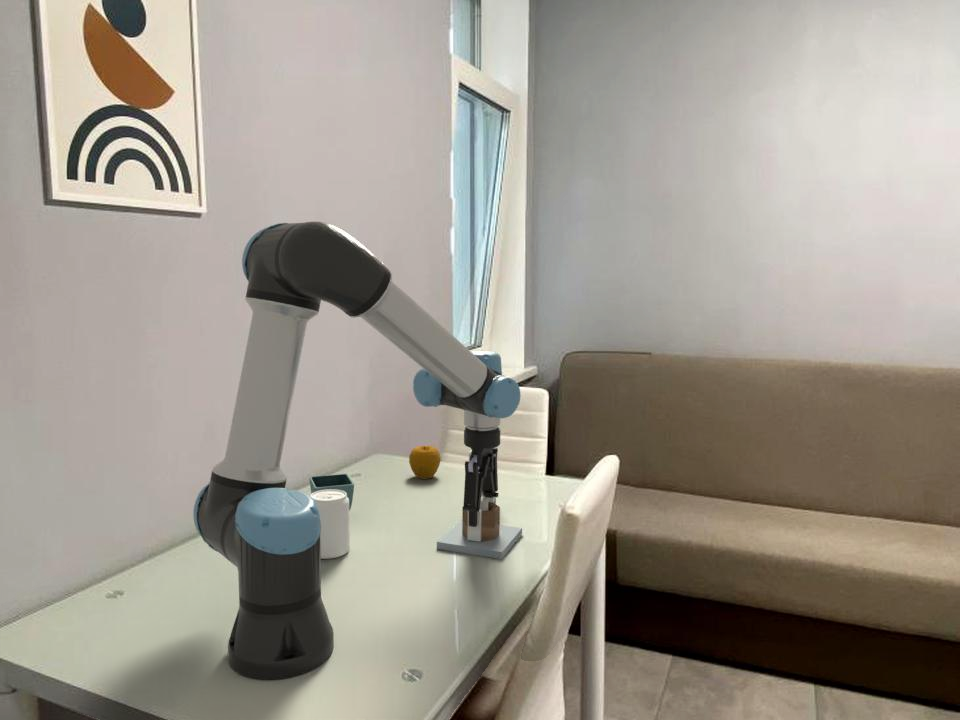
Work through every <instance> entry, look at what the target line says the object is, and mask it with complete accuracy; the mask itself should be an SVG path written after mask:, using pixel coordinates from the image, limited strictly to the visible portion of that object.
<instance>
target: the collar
mask: <svg viewBox="0 0 960 720" xmlns="http://www.w3.org/2000/svg"><path fill="white" fill-rule="evenodd" d="M500 510H501V507H500V506H499V505H498V504H497V503H496V504H495V503H492V502H488V510H487V511H481V541H480V542H483V541H489V540H495V539H496V538H497V537H498V535H499V527H500V525H501V524H500V520H501V519H500V517H501V516H500V514H501V513H500V512H501V511H500ZM461 514H462V519H461V520H462V535H463V536H464V537H466V538H467V535H468V510H464V509H463V508H462V513H461Z"/></svg>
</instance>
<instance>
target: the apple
mask: <svg viewBox="0 0 960 720" xmlns="http://www.w3.org/2000/svg"><path fill="white" fill-rule="evenodd" d="M440 455H441V454H440V451H439V450H438V448H436V446H433V445H419V446H416V447H414V448H412V450H411V451H410V453H409V457H408V463H409V466H410V469H411V471H412V473H413V474H414V476H416V478H418V479H420V478H421V480H428V478H429V479H432V478H433V477H434V476H435V475H436V473H437V472H438V469H439V466H440V464H441V456H440ZM431 477H432V478H431Z"/></svg>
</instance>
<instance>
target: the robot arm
mask: <svg viewBox="0 0 960 720" xmlns="http://www.w3.org/2000/svg"><path fill="white" fill-rule="evenodd" d="M241 257H242V258H241V259H242V260H241V266H242V267H241V268H242V271H243V274H244V277H245V278H246V280H247V288H246V292H245V293H246V294H245V301H246V303H247V304H248V306H249V307H250V309H251V310H252V315H251V316H252V317H251V320H250V327H249V331H248V335H247V336H248V337H247V341H246V346H245V350H244V351H245V352H244V355H243V356H244V357H243V362H242V367H241V372H240V377H239V383H238V388H237V394H236V399H235V405H234V408H233V414H232V418H231V419H232V420H231V425H230V431H229V434H228V441H227V445H226V451H225V456H224V457H223V460H221V461H220V462H219V463H217V464H216V465H214V466H213V467H212V470H211V474H210V479H209V482H208V484H206V485H205V486H204V487H203V488H201V490H200V492H199V493H198V494H197V497H196V499H195V501H194V505H193V513H192V514H193V515H192V516H193V523H194V526H195V529H196V531H197V533H198V534H199V535H200V537H201V538H202V540H203V541H204V543H205V544H207V546H208V547H209V548H210V549H212V550H213V551H216V552H217V553H219V554H220V555H221V556H223V558H225V559H227V561H229V562H230V563H231V564H232V565H233V566H235V567H236V568H237V573H238V575H237V576H238V599H239V600H238V601H239V605H238V609H237V612H236V617H235V619H234V623H233V626H232V630H231V632H230V635H229V639H228V643H227V655H228V656H227V657H228V658H227V659H228V664H229V666H230V668H231V669H232V670H234V672H237V673H238V674H240V675H242V676H245V677H247V678H253V679H257V680H278V679H286V678H287V679H288V678H291V677H295V676H299V675H301V674H304V673H307V672H309V671H312V670H314V669H316V668H317V667H319V666H321V665H322V664H323V663H324V662H326V661H327V660H328V658H329V657H330V656H331V655H332V653H333V651H334V648H335V645H334V644H335V641H334V640H335V639H334V628H333V626H332V624H331V622H330V619H329V616H328V613H327V610H326V607H325V604H324V601H323V599H322V574H321V573H322V569H321V568H322V567H321V566H322V565H321V564H322V563H321V562H322V561H321V560H322V559H321V543H320V534H321V520H320V515H319V508H318V505H317V503H316V502H315V500H314V499H313V498H312V497H311V496H310V495H309V494H308V493H306V492H303V491H302V490H298V489H289V488H286V485H287V478H288V477H287V475H286V474H285V473H284V471H283V470H282V468H281V461H282V454H283V450H284V444H285V439H286V433H287V428H288V423H289V418H290V413H291V408H292V403H293V397H294V393H295V392H294V391H295V387H296V381H297V376H298V372H299V366H300V361H301V357H302V356H301V355H302V350H303V345H304V340H305V336H306V330H307V324H308V322H309V321H310V320H311V319H314V318H315V317H316V316H318V315H319V312H320V306H321V304H322V303H321V301H322V302H325V303H328V304H331V305H333V306H334V307H335V308H338V309H340V310H341V311H342V312H344V313H345V314H346V315H347V316H349V317H350V318H361V319H363V321H365V322H366V323H367V324H369V326H371V327H372V328H373V329H375V330H376V331H377V332H378V333H379V334H381V335H382V336H383V337H384V338H386V339H387V340H388V341H389V342H390V343H391V344H393V345H394V346H395V347H397V349H399V350H400V351H402V352H403V353H404V354H405V355H406V356H407V357H409V358H410V359H412V360H413V361H414V362H415V363H416V364H417V365H419V366H420V367H421V368H420V369H419V370H418V371H417V372H416V374H415V376H414V378H413V381H412V382H413V383H412V384H413V385H412V386H413V387H412V390H413V394H414V397H415V399H416V401H417V402H418V403H419V404H420V405H421V406H423V407H425V408H426V407H429V408H430V407H434V408H437V407H438V406H448V407H451V408H456V409H459V410H463V424H464V426H465V427H464V428H463V445H465V446H466V447H467V448H469V449H470V450H471V449H472V451H471V455H470V462H469V460H466V461H464V472H465V475H464V487H463V488H464V489H463V491H464V493H463V506H462V510H463V509H464V510H468V535H467V540H471V541H478V542H480V541H481V510H480V502H481V498H486V499H488V502H492V503H494V498H493V497H496V498H499V492H498V490H499V484H498V483H499V482H498V478H499V477H498V454H499V453H498V447H499V446H500V445H501V428H500V425H501V419H506V418H509V417H511V416H512V415H513V414H514V413H515V412H516V410H517V409H518V407H519V405H520V401H521V389H520V386H519V384H518V382H517V381H516V380H514V378H512V377H508V376H506V375H504V374H503V372H502V371H503V369H502V357H501V355H500V354H499V353H498V352H494V351H489V350H488V351H487V350H474V351H473V350H472V351H471V350H470V349H469V348H467V347H466V346H465V345H464V344H463V343H462V342H461V341H460V340H459V339H457V338H456V337H455V335H453V334H452V333H451V332H450V331H448V329H446V328H445V327H444V326H443V325H442V324H441V323H440V322H439V321H438V320H436V319H435V318H434V317H433V316H432V315H431V314H430V313H429V312H427V310H426V309H424V307H423V306H421V305H420V303H418V302H416V300H415V299H413V298H412V297H411V296H409V294H408V293H407V292H405V290H404V289H402V288H401V286H399V285H398V284H397V283H396V282H395V281H393V273H392V270H391V269H390V268H389V267H388V266H387V265H386V264H384V263H383V262H382V261H381V260H380V259H379V258H378V257H377V256H376V255H375V254H373V253H372V252H371V251H370V250H369V249H368V248H366V247H365V245H363V244H362V243H360V242H359V241H358V240H357V239H356V238H355V237H353V236H351V235H350V234H349V233H347V232H345V231H344V230H342V229H340V228H339V227H337V226H335V225H333V224H330V223H328V222H323V221H322V222H321V221H306V222H294V223H291V222H290V223H289V222H281V223H280V222H279V223H275V224H273V225H269V226H267V227H264V228H262V229H260V230H259V231H257V232H256V233H254V234H253V235H252V236H251V237H250V239H249V240H248V242H247V243H246V245H245V247H244V250H243V253H242V256H241ZM479 472H480V473H479ZM495 491H496V492H495ZM482 492H483V496H485V497H481V495H482Z"/></svg>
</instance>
